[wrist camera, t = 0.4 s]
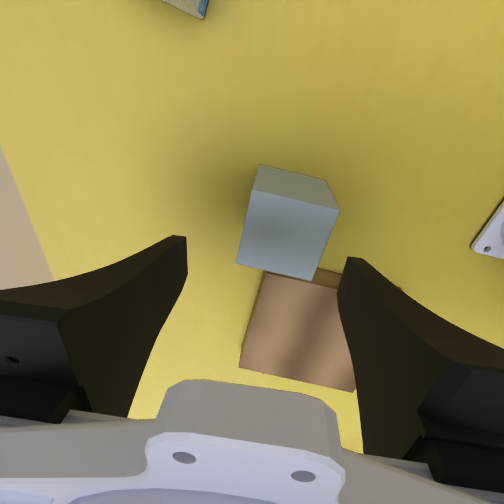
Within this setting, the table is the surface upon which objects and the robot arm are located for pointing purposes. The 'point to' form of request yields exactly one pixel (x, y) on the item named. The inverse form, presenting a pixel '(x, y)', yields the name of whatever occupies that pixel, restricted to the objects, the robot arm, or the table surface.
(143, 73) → the table surface
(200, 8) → the medicine box
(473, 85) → the table surface
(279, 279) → the walnut base
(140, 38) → the table surface
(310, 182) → the slate block
